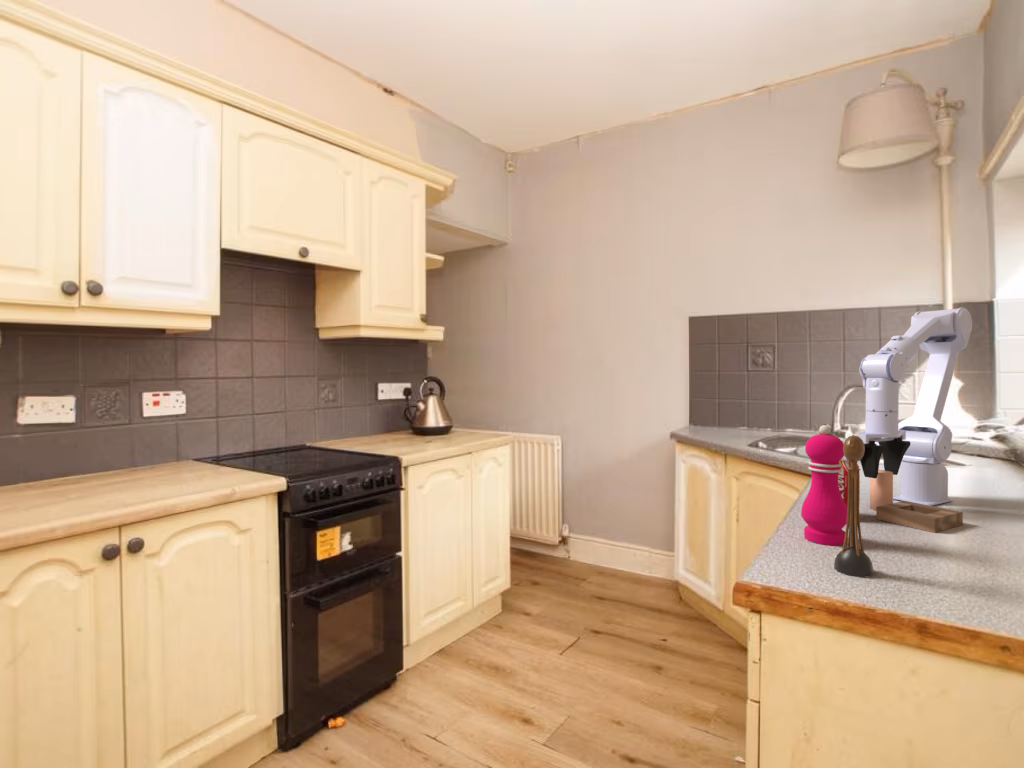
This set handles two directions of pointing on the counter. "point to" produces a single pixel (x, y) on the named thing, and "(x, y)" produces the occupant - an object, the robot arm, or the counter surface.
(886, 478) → the peg
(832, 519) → the pepper mill
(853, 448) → the wooden tabletop sculpture
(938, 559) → the counter surface
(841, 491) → the soda can
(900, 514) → the socket block
